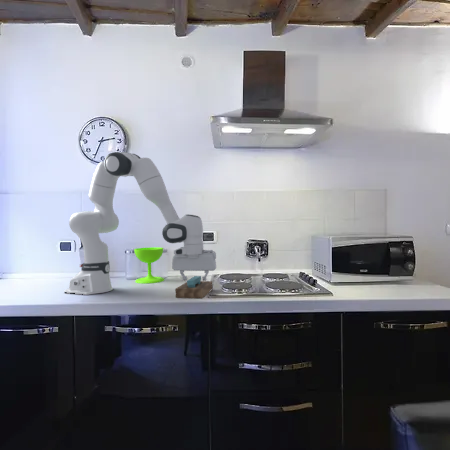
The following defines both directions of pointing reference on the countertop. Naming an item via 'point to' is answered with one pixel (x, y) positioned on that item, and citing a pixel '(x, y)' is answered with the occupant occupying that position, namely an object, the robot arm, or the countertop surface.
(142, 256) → the wineglass
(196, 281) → the teal long block
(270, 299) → the countertop surface
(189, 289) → the wooden board with holes
